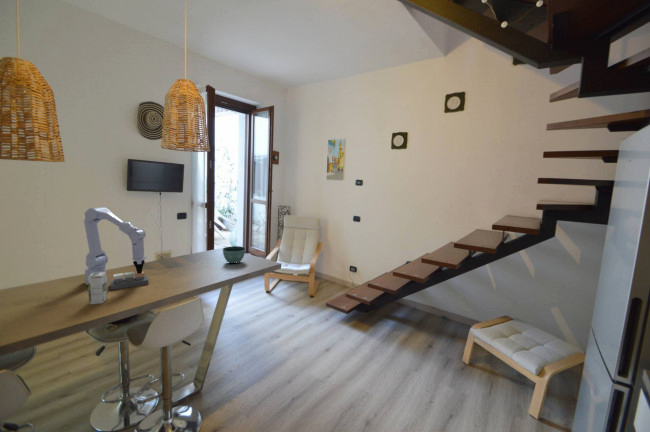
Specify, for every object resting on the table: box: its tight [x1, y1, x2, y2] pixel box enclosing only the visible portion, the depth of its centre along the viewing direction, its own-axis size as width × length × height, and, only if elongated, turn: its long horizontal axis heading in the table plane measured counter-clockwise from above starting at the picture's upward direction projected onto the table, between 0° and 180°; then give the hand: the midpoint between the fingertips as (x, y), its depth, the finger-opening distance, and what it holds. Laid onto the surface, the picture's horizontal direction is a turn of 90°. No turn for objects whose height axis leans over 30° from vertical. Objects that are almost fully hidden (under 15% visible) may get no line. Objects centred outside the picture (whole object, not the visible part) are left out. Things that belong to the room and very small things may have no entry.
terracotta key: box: [134, 270, 145, 280], centre depth 166 cm, size 4×4×5 cm
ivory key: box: [112, 272, 124, 283], centre depth 161 cm, size 4×4×5 cm
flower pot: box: [222, 245, 246, 263], centre depth 211 cm, size 16×16×11 cm
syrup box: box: [87, 271, 108, 305], centre depth 140 cm, size 6×6×14 cm
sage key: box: [123, 271, 135, 282], centre depth 164 cm, size 4×4×5 cm
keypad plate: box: [109, 274, 149, 291], centre depth 164 cm, size 18×10×2 cm, turn 125°
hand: (139, 272), depth 166 cm, fingers closed, pressing on terracotta key
